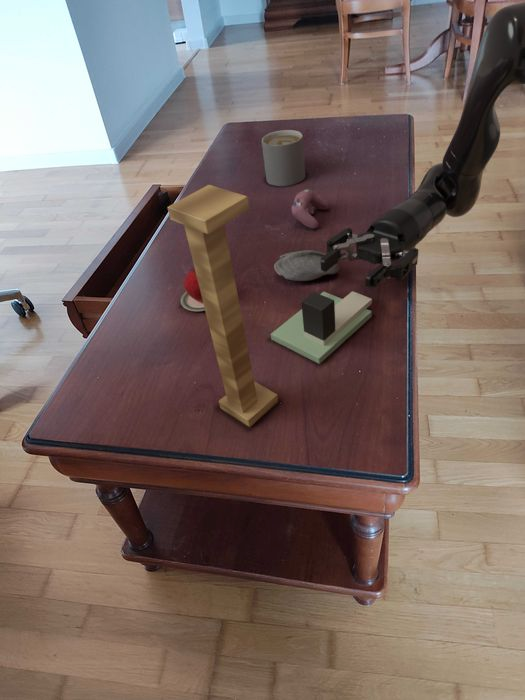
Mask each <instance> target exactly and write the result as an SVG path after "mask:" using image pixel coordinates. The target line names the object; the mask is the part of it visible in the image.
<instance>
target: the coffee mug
mask: <svg viewBox="0 0 525 700" xmlns="http://www.w3.org/2000/svg"><path fill="white" fill-rule="evenodd" d="M261 147H262V148H261V149H262V155H263V164H264V172H265V173H264V174H265V180H266V182H267V184H269V185H271V186H276V187H289V186H293V185H296V184H299V183H300V182H302V181H303V180H304V179H305V178H306V162H305V150H304V149H305V148H304V136H303V133H302V132H301V131H298V130H294V129H282V130H281V129H280V130H276V131H271V132H268V133H267V134H265V135H264V136H263V137H262V138H261Z"/></svg>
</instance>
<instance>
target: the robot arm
mask: <svg viewBox="0 0 525 700" xmlns="http://www.w3.org/2000/svg"><path fill="white" fill-rule="evenodd" d="M522 85H525V1H524V2H518V3H513V4H510V5H507V6H504V7H502V8H500V9H499V10H497V11H496V12H495V13H494V14H493V16H492V17H491V18H490V20H489V22H488V23H487V25H486V27H485V29H484V32H483V35H482V37H481V40H480V43H479V45H478V49H477V52H476V58H475V61H474V65H473V69H472V72H471V76H470V80H469V83H468V87H467V90H466V96H465V99H464V103H463V107H462V112H461V114H460V115H461V116H460V119H459V121H458V124H457V127H456V130H455V131H454V133H453V136H452V138H451V140H450V142H449V145H448V147H447V148H446V151H445V153H444V155H443V157H442V161H441V162H440V163H436V164H434V165H433V166H431V167H430V168H429V169H428V171H426V173H425V175H424V177H423V178H422V180H421V182H420V184H419V186H418V187H417V189H416V190H415V191H414V192H413V193H412V194H411V195H410V196H408V197H407V198H405V199H404V200H403V201H401V202H399V203H397V204H396V205H394V206H393V207H391V208H390V209H389V210H388V211H386V212H385V213H384V214H382V215H381V216H380V217H378V218H376V220H374V221H373V222H372V223H371V224H370V226H369V227H368V229H367V230H366V231H365V232H363V233H360V234H356V233H353V228H352V227H346V228H344V229H343V230H341V231H340V232H339V233H337V234H336V235H334V236H333V237H331V238H329V239H328V240H326V253H325V254H326V255H324V256H323V257H322V258H321V259H320V260H321V270H322V271H324V272H326V271H328V270H329V269H330V268H331V267H333V266H334V265H335V264H338V263H339V262H341V261H346V260H348V261H349V262H353V261H358V260H361V261H364V262H368V263H370V264H373V265H378V266H376V267H375V268H374V269H373V270H372V271H370V272H369V273H368V274H367V275H366V277H365V288H366V289H369V290H371V289H373V288H375V287H376V288H377V287H378V286H379V285H380V284H382V283H383V282H384V281H385V280H389V279H391V278H394V280H395V281H402V280H404V279H405V277H407V276H408V275H409V273H411V271H412V270H413V269H414V268H415V267H416V266H417V265H418V260H419V249H418V248H417V247H416V246H417V245H418V244H419V243H420V242H422V240H424V238H425V237H426V236H427V235H428V234H429V233H430V232H431V231H432V230H434V229H435V228H436V227H437V226H438V225H439V224H440V223H441V222H442V221H443V220H444V219H445V217H446V215H447V216H449V217H451V218H459V217H463V216H465V215H466V214H468V213H469V212H470V211H471V210H472V209H473V208H474V206H475V205H476V203H477V200H478V198H479V196H480V192H481V187H482V179H483V175H484V170H485V169H486V167H487V165H488V164H489V162H490V160H491V159H492V157H493V155H494V154H495V152H496V150H497V148H498V146H499V142H500V138H501V124H500V120H499V116H498V113H497V111H496V105H495V104H496V102H497V100H498V98H499V97H500V95H501V94H502V93H503V92H504V91H505V89H506V88H509V87H516V86H517V87H518V86H522ZM354 246H356V253H354ZM415 247H416V248H415ZM345 250H346V251H345ZM341 251H345V252H344V253H342V252H341ZM394 261H398V262H396V264H392V262H394Z"/></svg>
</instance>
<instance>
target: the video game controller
mask: <svg viewBox="0 0 525 700" xmlns="http://www.w3.org/2000/svg"><path fill="white" fill-rule="evenodd" d="M314 208H315V209H318V210H321V211H327V209H329V204H328V202H327V201H326V199H324V198H322V197H321V196H319V195H318V194H317V193H316V192H315V191H314V190H312V189H310V188H308V189H303V190H302V191H299V192H298V193H297V194H296V196H295V197H294V201H293V204H292V205H291V213H292V215H293V217H294V219H296V220H297V221H299V222H300V223H301V224H302V225H304V226H305V227H307V228H309V229H312V230H317V229H318V227H319V222H318V220H317V219H316V218H315V217H314V216H312V215H314V213H315V209H314Z"/></svg>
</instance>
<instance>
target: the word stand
mask: <svg viewBox="0 0 525 700" xmlns="http://www.w3.org/2000/svg"><path fill="white" fill-rule="evenodd" d="M247 211H250V203H249V197H248V196H247V195H244V194H241V193H237V192H234V191H232V190H228V189H225V188H221V187H218V186H215V185H212V184H207V185H205V186H204V187H202V188H200V189H198V190H196V191H194V192H193V193H191V194H189V195H187V196H185V197H183V198H181V199H179V200H178V201H175V202H173V203H172V204H170V205H169V206H167V212H168V215H169V219H170V221H173V222H176V223H178V224H180V225H183V227H184V230H185V235H186V239H187V243H188V246H189V247H188V248H189V251H190V255H191V259H192V263H193V267H194V269H195V271H196V275H197V279H198V283H199V287H200V292H201V296H202V300H203V304H204V308H205V311H204V312H205V315H206V316H205V317H206V320H207V324H208V327H209V328H208V329H209V331H210V335H211V340H212V343H213V348H214V352H215V357H216V360H217V364H218V368H219V372H220V375H221V376H220V377H221V380H222V384H223V388H224V392H225V393H224V394H225V395H224V396H223V397H221V398H220V399H219V400H218V404H219V408H220V409H221V410H223V411H224V412H225V413H227V414H229V415H230V416H231V417H233V418H235V419H236V420H237V421H239V422H240V423H242V424H243V425H245V426H247V427H248V428H251V427H252V426H253V425H254V424H256V422H258V421H259V420H261V418H262V417H263V416H264V415H265V414H267V413H268V412H269V411H270V410H271V409H272V408H273V407H275V405H276V404H278V402H279V397H278V394H277V393H276V392H274V391H272V390H270V389H268V388H267V387H265V386H263V385H262V384H260V383H259V382H257V381H255V379H254V374H253V368H252V363H251V358H250V354H249V353H250V352H249V347H248V343H247V342H248V341H247V337H246V332H245V326H244V322H243V315H242V310H241V306H240V305H241V304H240V300H239V295H238V290H237V284H236V279H235V274H234V268H233V263H232V257H231V252H230V247H229V242H228V236H227V230H226V226H225V225H227V223H229V222H231V221H233V220H235V219H236V218H238V217H240V216H241V215H242V214H244V213H246V212H247Z"/></svg>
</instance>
